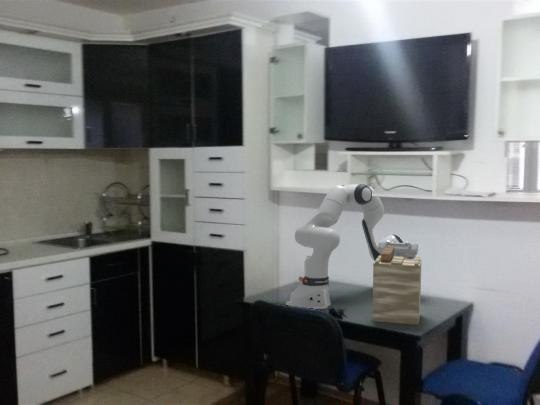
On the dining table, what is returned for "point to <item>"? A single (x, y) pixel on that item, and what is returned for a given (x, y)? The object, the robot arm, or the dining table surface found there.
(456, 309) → the dining table surface
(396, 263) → the slotted stand
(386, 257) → the rail bar
